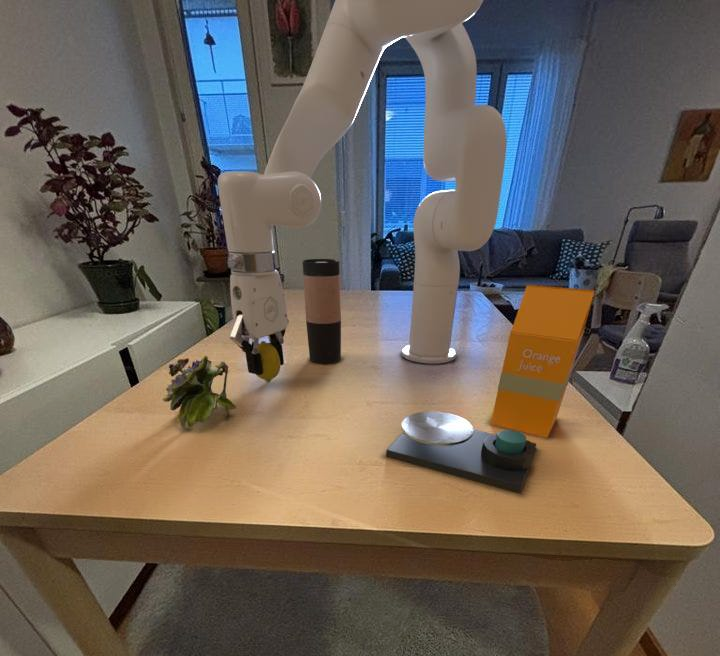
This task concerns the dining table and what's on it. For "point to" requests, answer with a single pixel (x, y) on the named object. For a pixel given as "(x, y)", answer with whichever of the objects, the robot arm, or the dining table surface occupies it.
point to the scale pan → (437, 428)
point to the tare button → (510, 441)
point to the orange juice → (540, 357)
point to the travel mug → (323, 309)
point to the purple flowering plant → (196, 390)
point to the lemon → (269, 361)
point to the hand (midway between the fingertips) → (266, 367)
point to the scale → (469, 459)
